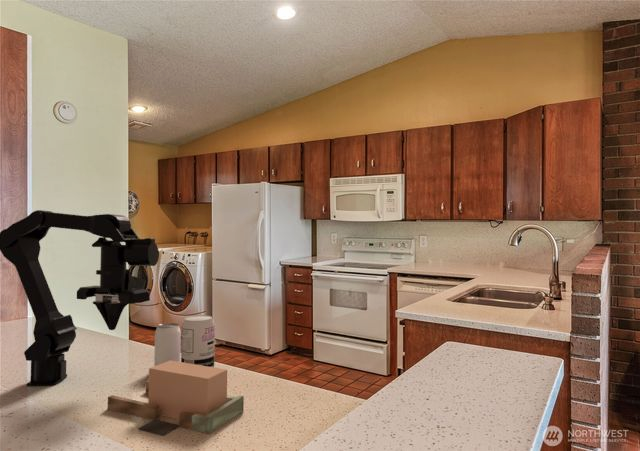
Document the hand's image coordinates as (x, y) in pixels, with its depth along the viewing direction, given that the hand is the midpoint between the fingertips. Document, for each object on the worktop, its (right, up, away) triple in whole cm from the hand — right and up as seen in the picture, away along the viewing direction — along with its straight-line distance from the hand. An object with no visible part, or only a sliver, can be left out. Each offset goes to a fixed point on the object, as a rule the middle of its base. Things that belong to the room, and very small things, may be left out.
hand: (112, 329), depth 101 cm
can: (+10, -14, +10) cm, 19 cm away
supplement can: (+19, -14, +5) cm, 24 cm away
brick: (+24, -13, -17) cm, 32 cm away
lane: (+21, -13, -15) cm, 29 cm away
